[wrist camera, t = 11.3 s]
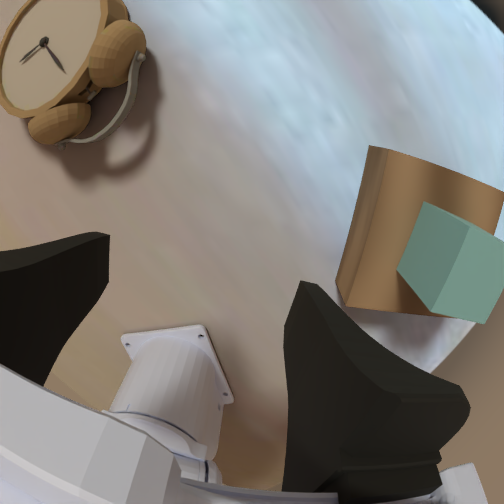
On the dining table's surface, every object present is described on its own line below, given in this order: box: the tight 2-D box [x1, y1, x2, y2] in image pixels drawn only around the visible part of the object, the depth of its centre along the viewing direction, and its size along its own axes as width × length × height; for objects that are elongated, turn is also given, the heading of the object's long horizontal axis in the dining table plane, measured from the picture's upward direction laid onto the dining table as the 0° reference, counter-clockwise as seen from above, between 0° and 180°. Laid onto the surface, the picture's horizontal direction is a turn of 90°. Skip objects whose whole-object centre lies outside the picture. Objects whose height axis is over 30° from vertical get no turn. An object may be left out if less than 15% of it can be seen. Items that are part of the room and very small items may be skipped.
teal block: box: [396, 201, 504, 324], centre depth 15 cm, size 5×5×5 cm
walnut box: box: [335, 145, 504, 318], centre depth 19 cm, size 10×10×4 cm
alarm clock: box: [0, 0, 146, 150], centre depth 15 cm, size 11×5×15 cm
